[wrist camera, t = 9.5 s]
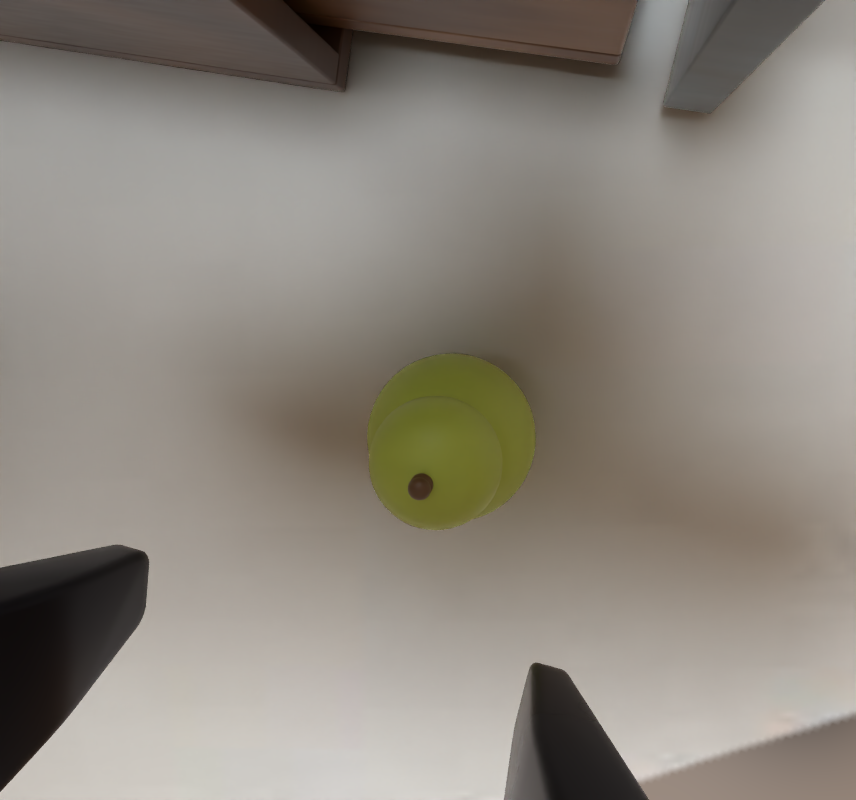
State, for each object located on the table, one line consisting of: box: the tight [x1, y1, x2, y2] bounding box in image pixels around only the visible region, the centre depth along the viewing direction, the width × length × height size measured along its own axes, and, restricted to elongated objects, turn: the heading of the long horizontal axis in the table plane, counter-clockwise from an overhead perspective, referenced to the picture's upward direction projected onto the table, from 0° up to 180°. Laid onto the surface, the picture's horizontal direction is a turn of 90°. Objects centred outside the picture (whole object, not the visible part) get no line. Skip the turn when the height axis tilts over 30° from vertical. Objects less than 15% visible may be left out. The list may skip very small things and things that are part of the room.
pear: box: [367, 353, 536, 530], centre depth 16 cm, size 5×5×7 cm
